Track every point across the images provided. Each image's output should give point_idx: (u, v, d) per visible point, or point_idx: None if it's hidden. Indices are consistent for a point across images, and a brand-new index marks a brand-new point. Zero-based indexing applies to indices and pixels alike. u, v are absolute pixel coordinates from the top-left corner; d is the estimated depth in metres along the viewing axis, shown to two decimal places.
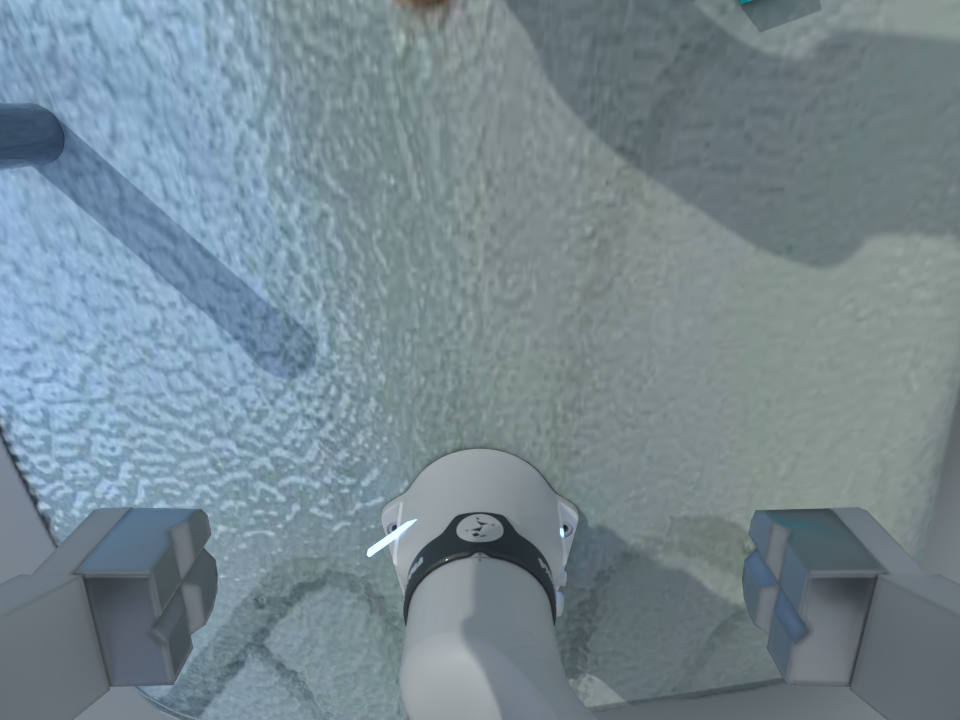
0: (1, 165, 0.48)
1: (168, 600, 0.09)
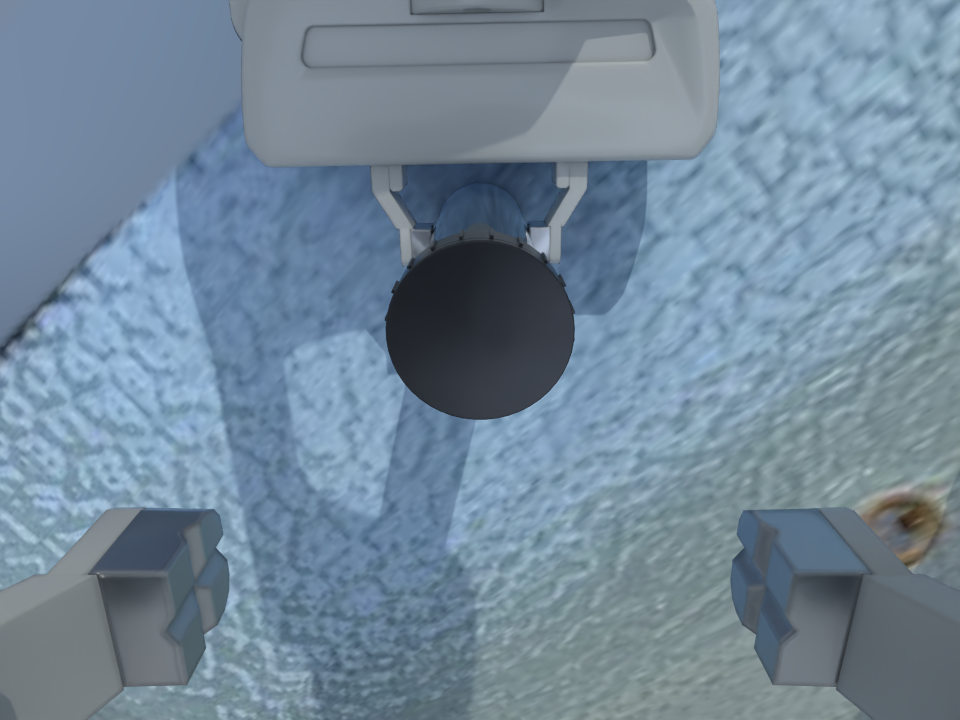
0: None
1: (182, 600, 0.09)
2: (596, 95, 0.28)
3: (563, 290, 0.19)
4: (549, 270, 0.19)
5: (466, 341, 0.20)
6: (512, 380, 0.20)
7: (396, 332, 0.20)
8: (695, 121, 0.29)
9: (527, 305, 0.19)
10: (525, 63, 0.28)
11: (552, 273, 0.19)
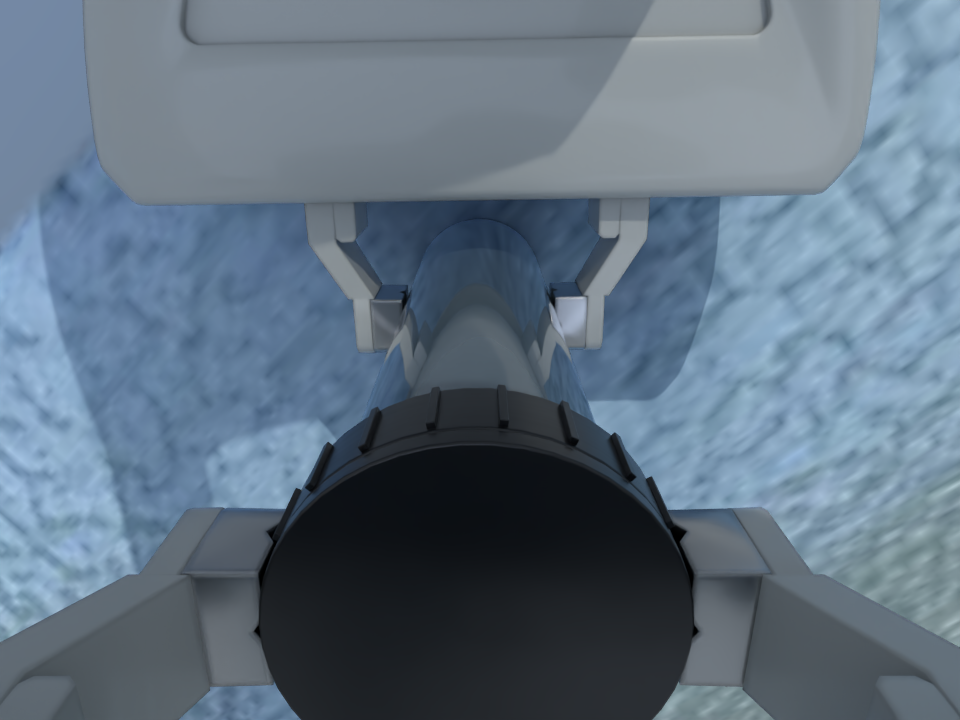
0: None
1: None
2: (670, 91, 0.17)
3: (673, 548, 0.08)
4: (642, 506, 0.08)
5: (444, 650, 0.09)
6: None
7: (283, 632, 0.09)
8: (830, 134, 0.17)
9: (587, 580, 0.08)
10: (553, 37, 0.17)
11: (649, 513, 0.08)
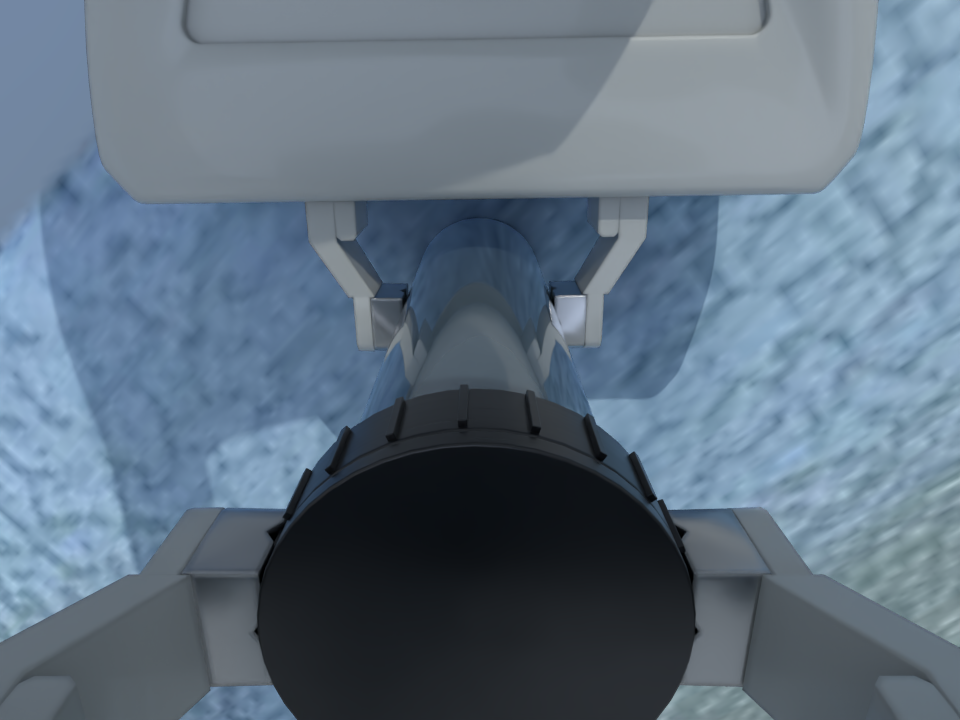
0: None
1: None
2: (669, 90, 0.17)
3: (463, 445, 0.08)
4: (401, 455, 0.08)
5: (477, 667, 0.09)
6: (614, 624, 0.08)
7: None
8: (827, 133, 0.18)
9: (459, 531, 0.08)
10: (552, 37, 0.17)
11: (410, 452, 0.08)
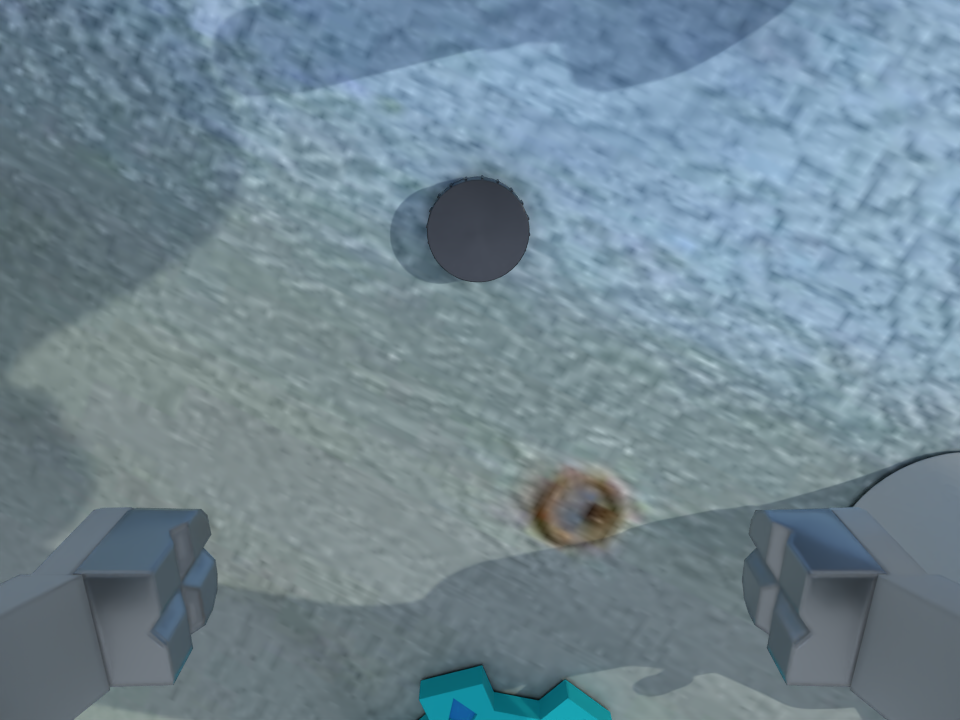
0: None
1: (168, 600, 0.09)
2: None
3: (431, 212, 0.36)
4: (427, 225, 0.36)
5: (485, 235, 0.36)
6: (488, 201, 0.36)
7: (504, 268, 0.37)
8: None
9: (449, 222, 0.36)
10: None
11: (428, 223, 0.36)
